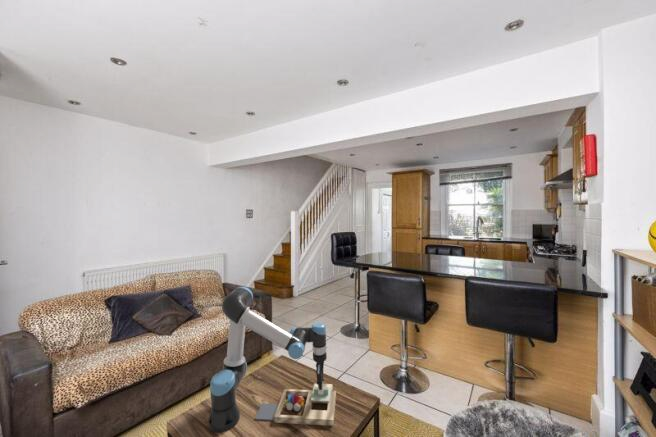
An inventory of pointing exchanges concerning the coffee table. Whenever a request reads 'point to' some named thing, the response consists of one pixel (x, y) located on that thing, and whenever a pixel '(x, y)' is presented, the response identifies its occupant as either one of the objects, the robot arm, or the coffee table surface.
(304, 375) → the coffee table surface
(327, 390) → the lid
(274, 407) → the mat
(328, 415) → the board
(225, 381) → the robot arm
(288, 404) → the rainbow toy vehicle
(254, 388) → the coffee table surface
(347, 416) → the coffee table surface
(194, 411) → the coffee table surface
